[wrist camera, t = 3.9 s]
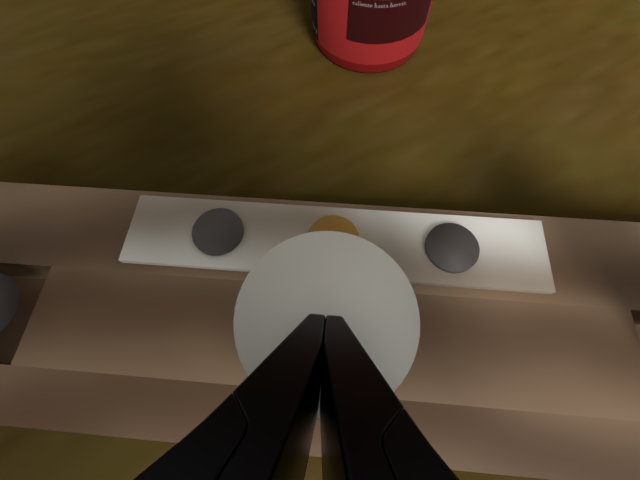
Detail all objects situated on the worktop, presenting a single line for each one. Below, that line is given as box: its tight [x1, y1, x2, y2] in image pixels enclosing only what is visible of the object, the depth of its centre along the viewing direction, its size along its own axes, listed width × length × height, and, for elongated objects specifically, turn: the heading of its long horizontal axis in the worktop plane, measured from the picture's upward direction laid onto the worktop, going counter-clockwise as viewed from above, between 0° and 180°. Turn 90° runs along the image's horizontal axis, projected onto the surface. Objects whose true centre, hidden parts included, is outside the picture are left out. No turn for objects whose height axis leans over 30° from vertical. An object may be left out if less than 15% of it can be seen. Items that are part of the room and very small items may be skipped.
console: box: [0, 182, 640, 480], centre depth 15 cm, size 10×37×4 cm, turn 85°
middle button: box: [233, 231, 420, 420], centre depth 12 cm, size 5×5×6 cm
